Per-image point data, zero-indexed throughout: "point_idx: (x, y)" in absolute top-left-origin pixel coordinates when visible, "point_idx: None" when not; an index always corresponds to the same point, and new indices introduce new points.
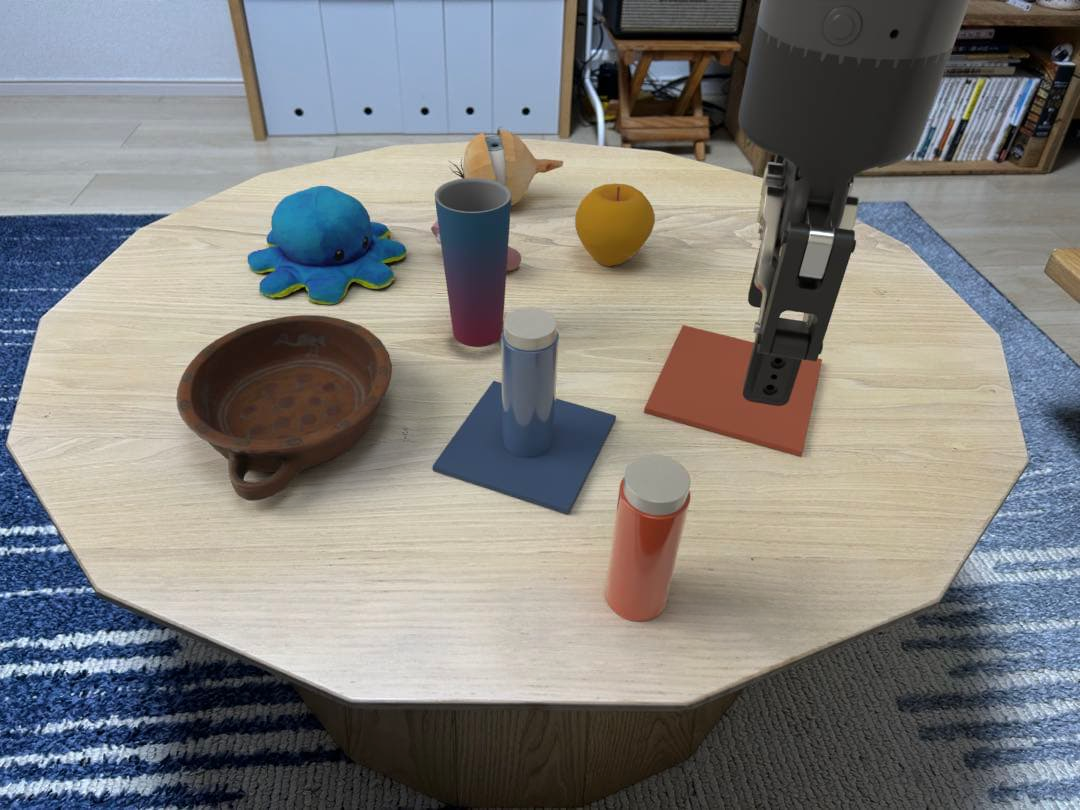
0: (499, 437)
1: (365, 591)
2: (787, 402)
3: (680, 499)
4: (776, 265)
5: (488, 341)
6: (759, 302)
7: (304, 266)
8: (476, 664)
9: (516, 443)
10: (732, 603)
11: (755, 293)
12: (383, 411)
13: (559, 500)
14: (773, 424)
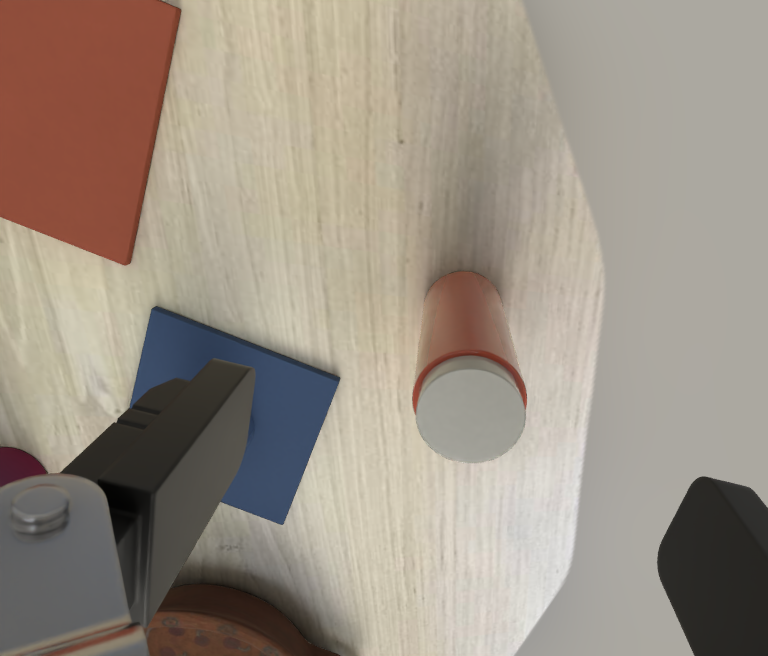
0: None
1: (455, 569)
2: (750, 488)
3: (516, 388)
4: (182, 519)
5: (37, 467)
6: (242, 442)
7: None
8: (546, 473)
9: (245, 451)
10: (476, 184)
11: (229, 475)
12: (196, 570)
13: (323, 392)
14: (117, 49)
